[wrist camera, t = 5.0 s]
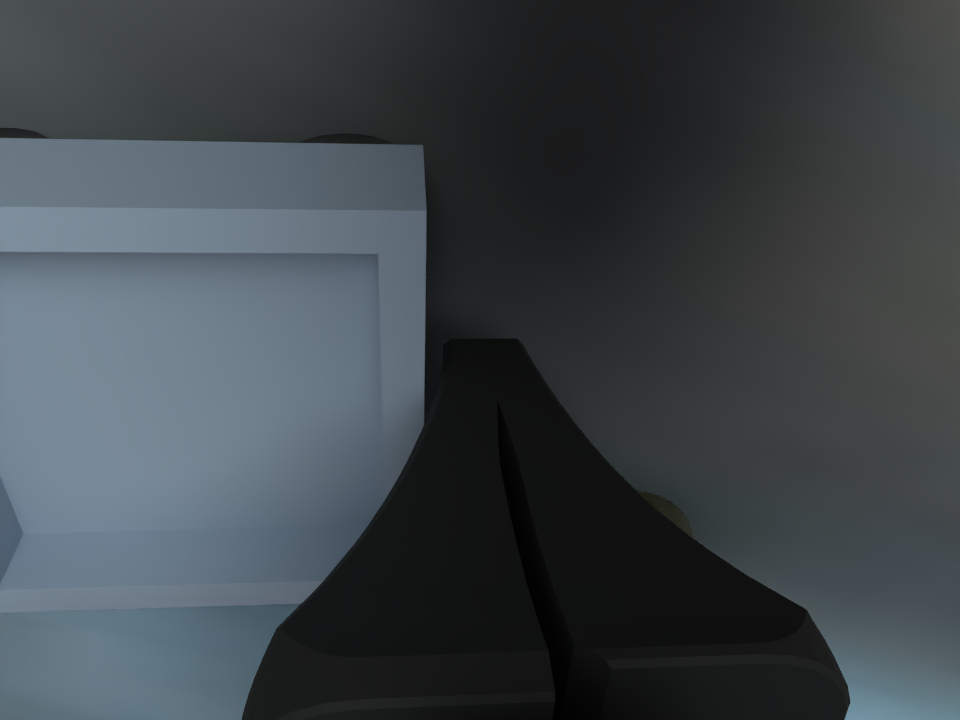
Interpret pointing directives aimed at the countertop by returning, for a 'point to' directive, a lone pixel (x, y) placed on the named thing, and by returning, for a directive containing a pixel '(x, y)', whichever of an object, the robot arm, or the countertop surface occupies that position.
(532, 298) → the countertop surface
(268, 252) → the grey square tray
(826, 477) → the countertop surface
